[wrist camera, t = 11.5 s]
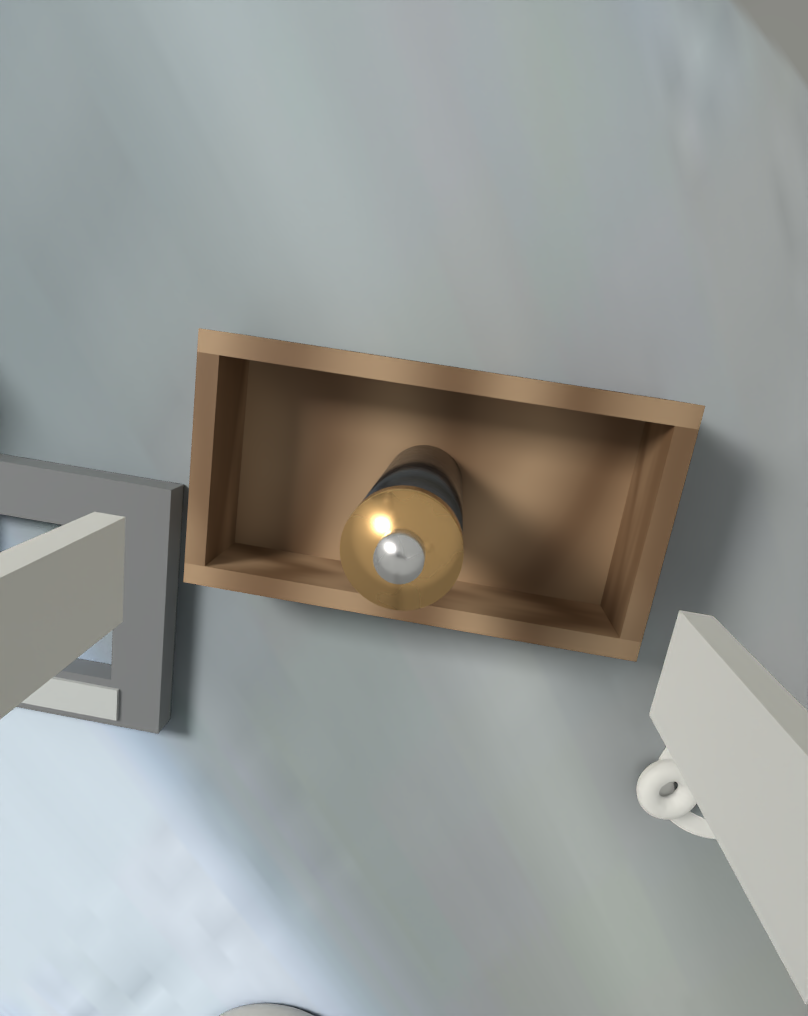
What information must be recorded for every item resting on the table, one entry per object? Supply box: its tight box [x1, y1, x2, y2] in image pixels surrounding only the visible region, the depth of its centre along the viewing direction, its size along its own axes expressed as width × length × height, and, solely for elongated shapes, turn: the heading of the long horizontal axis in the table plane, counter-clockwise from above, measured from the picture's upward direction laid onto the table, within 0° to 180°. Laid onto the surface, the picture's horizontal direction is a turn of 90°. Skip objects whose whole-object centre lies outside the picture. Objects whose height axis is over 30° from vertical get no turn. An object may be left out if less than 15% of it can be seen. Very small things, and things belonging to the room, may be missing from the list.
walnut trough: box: [183, 329, 705, 662], centre depth 30 cm, size 22×12×5 cm, turn 81°
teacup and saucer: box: [636, 747, 716, 839], centre depth 33 cm, size 9×8×4 cm
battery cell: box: [340, 445, 464, 611], centre depth 25 cm, size 4×4×13 cm
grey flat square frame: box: [0, 454, 184, 734], centre depth 35 cm, size 15×15×2 cm
